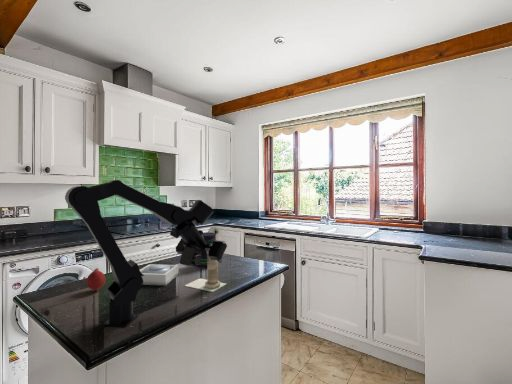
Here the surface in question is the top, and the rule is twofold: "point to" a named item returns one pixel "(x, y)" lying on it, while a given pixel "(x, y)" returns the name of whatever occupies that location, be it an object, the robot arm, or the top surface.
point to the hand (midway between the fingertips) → (210, 260)
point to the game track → (202, 285)
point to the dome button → (157, 269)
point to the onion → (96, 280)
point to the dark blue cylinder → (211, 239)
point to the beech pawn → (212, 273)
